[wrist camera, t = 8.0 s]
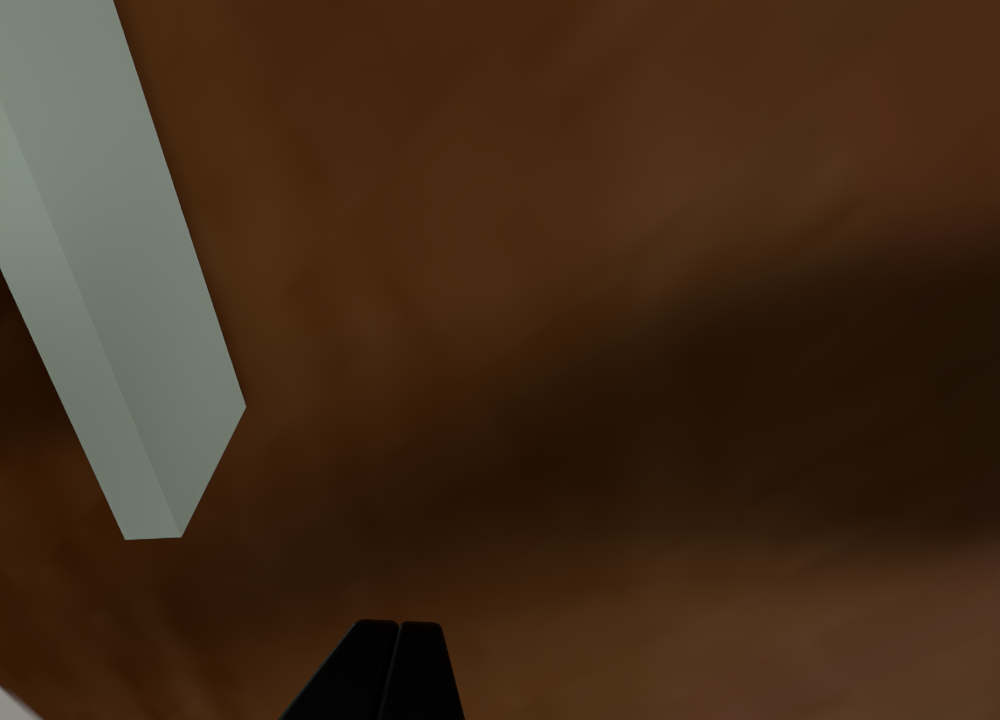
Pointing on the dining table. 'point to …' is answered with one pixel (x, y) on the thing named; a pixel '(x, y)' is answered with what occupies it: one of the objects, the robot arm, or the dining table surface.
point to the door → (108, 264)
